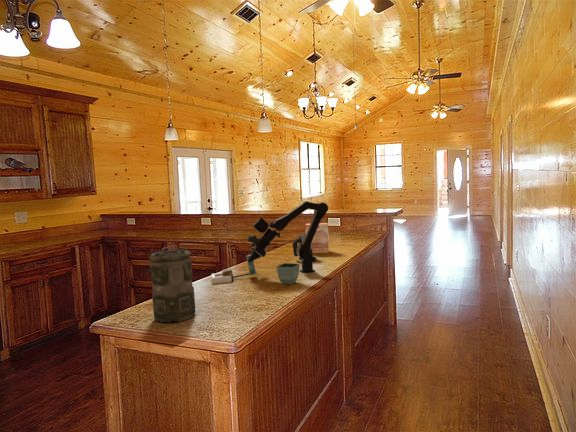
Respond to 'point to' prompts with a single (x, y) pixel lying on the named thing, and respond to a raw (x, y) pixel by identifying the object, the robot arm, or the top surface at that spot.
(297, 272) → the flower pot
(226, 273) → the tethered block
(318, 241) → the coffeecake box
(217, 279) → the lane
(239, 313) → the top surface
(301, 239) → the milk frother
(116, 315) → the top surface
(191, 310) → the canister
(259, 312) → the top surface
